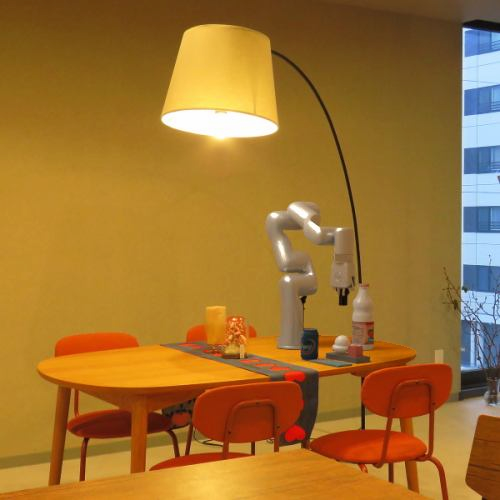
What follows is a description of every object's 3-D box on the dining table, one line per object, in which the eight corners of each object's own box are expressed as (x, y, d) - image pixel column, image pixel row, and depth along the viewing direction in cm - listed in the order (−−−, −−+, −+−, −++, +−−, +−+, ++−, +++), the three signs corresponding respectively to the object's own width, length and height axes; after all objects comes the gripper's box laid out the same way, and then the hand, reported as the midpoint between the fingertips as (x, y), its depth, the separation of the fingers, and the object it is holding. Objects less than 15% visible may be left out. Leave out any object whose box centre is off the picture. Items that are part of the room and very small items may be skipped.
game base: (325, 358, 304) (325, 352, 304) (340, 356, 309) (340, 351, 309) (355, 363, 292) (355, 358, 292) (370, 361, 297) (370, 356, 297)
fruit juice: (351, 347, 336) (352, 282, 335) (373, 347, 335) (374, 283, 334) (351, 350, 326) (352, 284, 326) (374, 350, 325) (375, 284, 325)
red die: (347, 355, 297) (348, 344, 297) (355, 354, 300) (355, 343, 300) (355, 357, 294) (355, 345, 294) (362, 356, 297) (362, 344, 297)
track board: (309, 361, 294) (309, 360, 294) (323, 360, 299) (323, 358, 299) (337, 367, 283) (337, 365, 283) (352, 365, 287) (352, 363, 287)
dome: (328, 350, 303) (328, 335, 303) (342, 348, 308) (342, 333, 308) (342, 352, 297) (342, 337, 297) (356, 351, 302) (356, 335, 302)
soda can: (299, 360, 297) (299, 329, 297) (301, 357, 304) (302, 327, 304) (317, 361, 296) (317, 330, 295) (319, 358, 302) (319, 328, 302)
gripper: (323, 258, 305) (322, 304, 306) (351, 259, 294) (350, 307, 294) (336, 258, 310) (336, 303, 310) (364, 259, 298) (363, 306, 299)
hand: (343, 305), depth 302 cm, fingers closed
